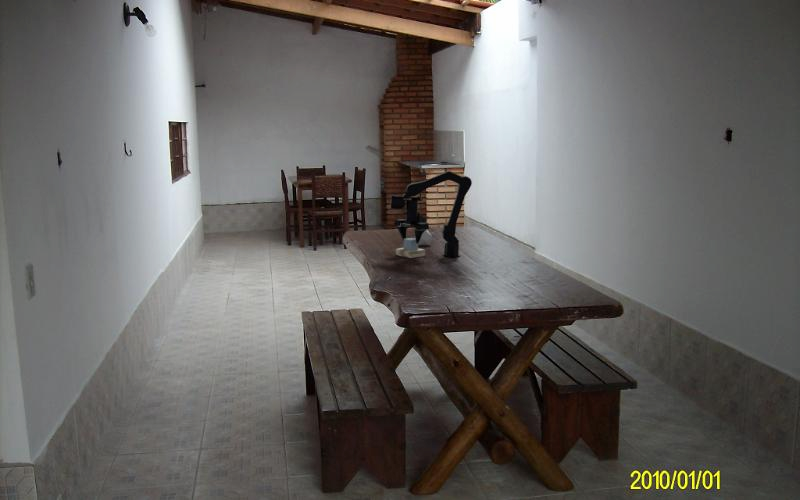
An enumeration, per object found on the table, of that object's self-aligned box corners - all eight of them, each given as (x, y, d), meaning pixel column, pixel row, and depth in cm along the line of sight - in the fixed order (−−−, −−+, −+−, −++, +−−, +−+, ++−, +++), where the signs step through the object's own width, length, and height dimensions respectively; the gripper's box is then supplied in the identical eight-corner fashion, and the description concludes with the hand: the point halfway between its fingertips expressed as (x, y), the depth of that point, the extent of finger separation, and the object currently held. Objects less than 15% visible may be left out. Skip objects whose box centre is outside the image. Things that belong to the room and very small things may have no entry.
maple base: (425, 255, 352) (425, 249, 351) (410, 258, 345) (410, 251, 344) (410, 252, 359) (411, 246, 358) (396, 254, 352) (396, 248, 351)
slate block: (418, 249, 351) (418, 239, 350) (410, 250, 348) (411, 240, 347) (411, 248, 355) (411, 237, 354) (403, 249, 351) (403, 238, 350)
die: (427, 248, 378) (436, 232, 380) (413, 239, 377) (422, 223, 380) (424, 251, 386) (432, 235, 389) (409, 242, 385) (418, 226, 388)
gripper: (437, 211, 347) (436, 243, 349) (410, 207, 360) (409, 238, 363) (420, 212, 339) (419, 245, 342) (394, 208, 353) (393, 240, 355)
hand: (410, 242), depth 351 cm, fingers open, 9 cm apart
